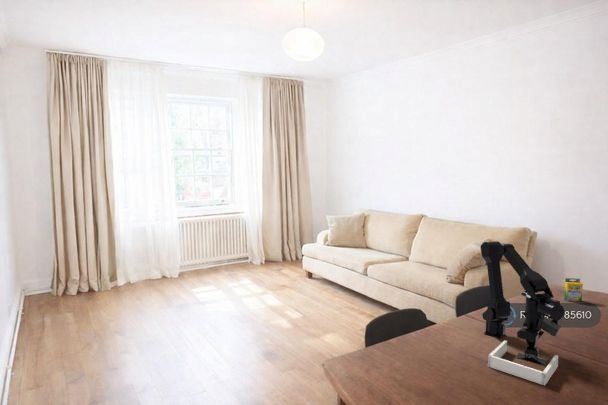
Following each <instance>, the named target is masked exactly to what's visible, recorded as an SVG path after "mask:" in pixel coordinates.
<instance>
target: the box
mask: <svg viewBox="0 0 608 405" xmlns="http://www.w3.org/2000/svg"><path fill="white" fill-rule="evenodd" d="M507 351H508V340H505V339H504V340H503V341H502V342H501V343H500V344H499V345H498V346H497V347H495V349H493V350H492V351H491V352H490V353H488V356H487V367H489V368H491V369H495V370H497V371H499V372H503V373H507V374H509V375H513V376H515V377H518V378H521V379H524V380H527V381H529V382H533V383H536V384H539V385H542V386H544V387H545V386H546V384H548V382H549V380H550V378H551V377H552V376H553V374H555V371H556V370H557V369H558V367H559V355H558V354H557V355H556V354H554V356H553V357H552V359H551V360H550V361H549V363H548V364H546V366H545V368H544V369H543V371H541V370H539V369H535V368H532V367H529V366H526V365H522V364H520V363H516V362H514V361H510V360H507V359H504V358H502V357H503V356H504V355H505V354H506V353H507Z"/></svg>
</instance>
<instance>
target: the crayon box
mask: <svg viewBox="0 0 608 405" xmlns="http://www.w3.org/2000/svg"><path fill="white" fill-rule="evenodd" d="M564 279H565V282H564V283H565V284H564V295H563V297H564V298H563V300H564V301H566V302H580V303H581V302H582V298H583V285H584V284H583V283H582V282H581V278H574V277H573V278H570V277H569V278H568V277H566V278H564Z"/></svg>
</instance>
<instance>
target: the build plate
mask: <svg viewBox="0 0 608 405" xmlns="http://www.w3.org/2000/svg"><path fill="white" fill-rule="evenodd" d="M539 355H540V350H539V348H538V347H535V348H534V347H533V349H532V347H530V346H528V345H526V347H525V350H524V353H522V352H518V353H517V355H516V357H515V358H516V359H518V360H523V361H525V362H530V363H533V364H537V365H542V366H545V367H546V366H547V362H548V359H546V358H542V357H540V356H539Z"/></svg>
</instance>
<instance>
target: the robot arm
mask: <svg viewBox="0 0 608 405" xmlns="http://www.w3.org/2000/svg"><path fill="white" fill-rule="evenodd" d="M480 253H481V256H482V258H483V260H484V261H485V263H486V269H487V276H488V284H489V285H488V286H489V295H490V297H489V299H488V302H487V305H486V307H487V308H486V310H485V311H484V312H482V314H481V315H482V319H483V320H484V321H485V331H484V332H483V334H484V335H487V336H490V337H495V338H498V339H500V338H502V337H503V336H504V335H505V334H506V325H505V321H506V322H507V321H508V319H509V317H510V316H511V312H512V309H511V308H512V307H511V302H510V301H507V300H506V297H505V296H504V289H503V279H502V278H503V277H502V271H501V261H502V259H503V257H504V258H505V260H506V261H507V263H508V264H509V265H510V266H511V267H512V269H513V270H514V271H515V273H517V275H518V278H519V282H520V284H521V286H522V288H523V290H524V291H523V292H522V293H521V296H523V297H525V304H524V306H525V309H524V312H523V316H524V322H523V323H522V326H523V327H521V328H519V329H518V330H517V331H516V337H517V338H518V339H523V340H525V341H526V343H527V346H530V347H532V349H533V347H534V348H536V345H537V342H538V340H539V339H540V338H541V337H542V336H543V335H544V334H545V332H546V333H548V334H549V335H550V336H552V337H556V336H557V335H558V333H559V332H560V329H561V327H562V324H560V320H561V319H563V317H564V315H565V308H564V307H563V305H561V301H560V300H558V299H554V294H553V292H552V290H551V289H550V286H549V284H548V281H547V280H546V278H545V277H543V276H542V274H540V273H539V272H537V271H535V270H533V269H532V268H531V267H530V266H529V264H528V263H527V262H526V261H525V260H524V258H523V257H522V256H521V255H520V254H519V252H518V251H517V250H516V248H515V246H514V244H512V243H501V242H499V241H497V240H496V241H495V240H493V241H484V242H482V244H481V245H480Z"/></svg>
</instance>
